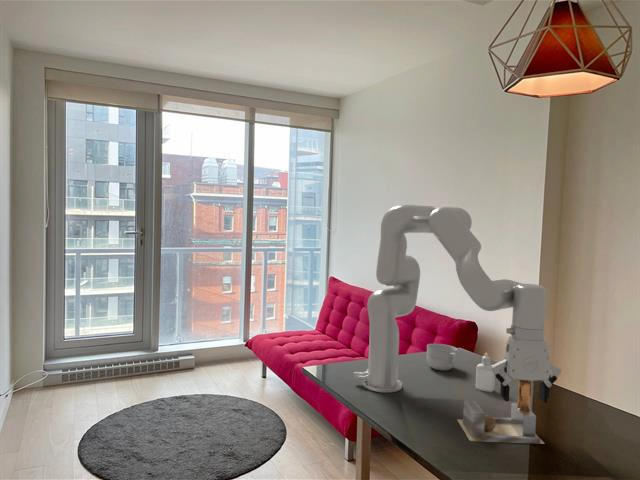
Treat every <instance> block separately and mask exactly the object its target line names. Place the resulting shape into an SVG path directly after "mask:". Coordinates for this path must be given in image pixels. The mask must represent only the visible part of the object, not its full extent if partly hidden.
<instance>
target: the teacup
mask: <svg viewBox="0 0 640 480" xmlns="http://www.w3.org/2000/svg"><path fill="white" fill-rule="evenodd" d="M457 354H458V348H457V347H455V346H452V345H447V344H444V343H443V344H442V343H428V344H427V345H426V363H427V364H428V365H429V366H430V367H431V368H432V369H433V370H438V371H450V370H451V369H452V368H454V367H455V366H456V365H457V363H458V361H459V359H458V358H459V357H458V355H457Z"/></svg>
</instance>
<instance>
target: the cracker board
mask: <svg viewBox="0 0 640 480" xmlns="http://www.w3.org/2000/svg"><path fill="white" fill-rule="evenodd" d="M485 415H486V413H485V412H484V411H483V409H482V408H481V406H480V405H479V404H478V403H477V401H476V400H463V412H462V419H456V420H457V422H458V424H459V425H460V427H461V429H462V430H463V432H464V434H465V435H466V437H467V438H468V440H469V442H489V443H491V442H492V443H512V444H513V443H516V444H517V443H518V444H538V445H539V444H540V445H541V444H543V445H544V444H545V442H544V441H543V440H542V438H540V437H539V436H538V434H537V433H535V437H524V436H521V435H520V434H519V433H518V432H517V431H516V429H515V428H514V427H513V426H512V425H511V417H496V416H495V417H493V416H492V417H493V418H494V419H495V422H496V426H495V428H494V429H493V430H492V431H485V430H484V426H485Z"/></svg>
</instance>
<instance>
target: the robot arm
mask: <svg viewBox="0 0 640 480" xmlns="http://www.w3.org/2000/svg"><path fill="white" fill-rule="evenodd" d="M472 223H473V221H472V217H471V215H470V214H469V212H468V211H466V210H465V209H464V208H462V207H457V206H456V207H455V206H453V207H452V206H434V205H433V206H432V205H421V204H420V205H419V204H417V205H416V204H400V205H396V206H393V207H391V208H390V209H388V210H387V211H386V212H385V213H384V215H383V216H382V219H381V224H380V241H379V249H378V256H377V264H376V272H375V274H376V275H375V276H376V280H377V281H378V283H379V284H380V285H382V286H385V287H390V288H384V289H377V290H375V291H374V292H372V293H371V294H370V296H369V297H368V299H367V313H368V321H369V331H368V332H369V334H368V336H369V341H368V342H369V345H368V367H367V368H366V370H365V371H363V372H360V371H354V372H353V378H354V379H357V380H358V381H362V385H363V387H364V388H365V389H367V390H369V391H371V392H376V393H377V392H378V393H382V394H383V393H385V394H386V393H395V392H398V391H399V392H400V391H401V390H402V388H403V382H401V380H399V379H398V376H399V371H398V370H399V354H400V353H399V352H400V351H399V350H400V349H399V348H400V331H399V330H400V328H399V326H398V322H397V320H396V318H399V317H403V316H408V315H409V314H411V313H412V312H414V309H415V307H416V304H417V301H418V293H419V285H420V280H421V269H420V265H419V262H418V261H417V260H416V258H415V257H413V256H412V255H407V249H408V241H407V237H406V235H405V234H407V233H408V234H410V233H414V234H416V233H417V234H421V233H426V234H433V235H434V236H435V238H436V239H437V240H438V242H439V243H440V244H441V245H442V247H443V248H444V249H445V250H446V252H447V253H448V254H449V256H450V258H452V260H453V261H454V263H455V270H456V274H457V278H458V281H459V283H460V285H461V287H462V288H463V289H464V291H465V293H466V294H467V295H468V296H469V298H470V299H471V300H472V301H473V303H475V304H476V306H477V307H479V308H480V309H482V310H483V311H486V312H495V311H499V310H505V309H511V308H512V320H511V325H510V327H509V328H508V327H507V328H506V331H505V332H506V334H510V335H511V336H508V339H507V343H506V347H505V352H504V359H502V360H501V361H499V362H498V361H497V362H496V363H494V364H491V365H492V366H491V369H492V372H493V373H494V376H495V378H496V379H497V380H498V381H499V382H500V391H499V394H500V397H501V398H502V399H503V400H504V401H505V402H509V401H510V389H511V388H510V385H509V383H510V382H512V380H514V381H519V380H529V381H531V382H532V381H534V382H540V383H539V390H538V391H539V393H538V396H539V397H538V399H540V400H541V401H542V403H544V404H546V403H548V399H549V398H550V388H552V386H553V384H554V383H555V382H556V381H557V380H558V378H559V376H560V374H561V372H562V369H561V368H559V367H558V366H555V365H554V364H553V363H551V362H550V361H551V359H550V357H551V356H550V351H549V350H550V349H549V348H550V347H549V343H548V340H547V339H545V328H546V310H547V309H546V307H547V290H546V288H545V286H543V285H539V284H536V283H535V284H534V283H522V282H518V281H515V280H511V279H495V280H492V279H491V278H490V277H489V275H488V274H487V273H486V272H485V270H484V269H483V267H482V266H481V263H480V261H479V253H480V252H481V250H482V244H481V242H480V241H479V239H478V238H477V237H476V236H475V234H473V232H472V231H471V228H472V225H473V224H472ZM392 286H393V287H392ZM501 369H503V372H504V373H503V374H502V375H501V373H500V370H501ZM551 371H552V372H551ZM550 372H551V373H550Z"/></svg>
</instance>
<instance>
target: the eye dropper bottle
mask: <svg viewBox="0 0 640 480" xmlns="http://www.w3.org/2000/svg"><path fill="white" fill-rule="evenodd" d="M481 359H482V360H481V363H478V364H477V365H476V369H475V370H476V371H475V389H476V390H479V391H483V392H486V393H492V392H494V390H495V381H496V379H495V378H496V377H495V376H494V373H493V372H492V369H491V366H492V365H493V364H491V357H490V356H489V353H487V352H485V353H484V355H483V356H482V357H481Z"/></svg>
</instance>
